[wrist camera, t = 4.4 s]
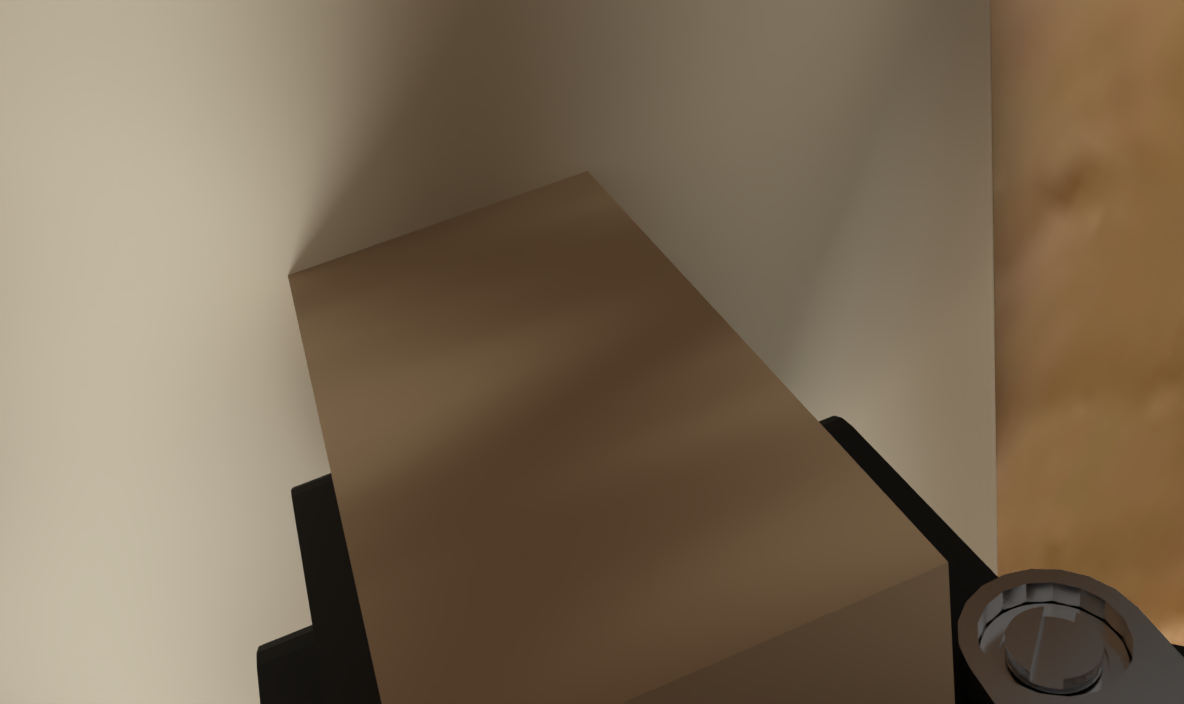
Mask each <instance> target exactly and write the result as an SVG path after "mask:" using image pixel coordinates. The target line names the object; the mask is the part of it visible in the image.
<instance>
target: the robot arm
mask: <svg viewBox="0 0 1184 704" xmlns="http://www.w3.org/2000/svg"><path fill="white" fill-rule="evenodd" d="M819 423H820V424H821V425H822V426H823V427H824V428H825V429H826V430H827V431H828V432H829V433H830V435H831V436H832V437H833V438H834V439H835V440H836V441H837V442H838V443H839V444H840V445H841V446H842V448H843V449H844V450H845V451H846V452H847V453H848V454H849V455H850V456H851V457H852V458H853V459H854V461H855V462H856V463H857V464H858V465H859V466H860V467H861V468H862V469H863V470H864V471H865V472H866V474H867V475H868V476H869V477H870V478H871V479H872V480H873V481H874V482H875V483H876V484H877V485H878V487H879V488H880V489H881V490H882V491H883V492H884V493H885V494H886V495H887V496H888V497H889V498H890V500H891V501H892V502H893V503H894V504H895V505H896V506H897V507H898V508H899V509H900V510H901V511H902V513H903V514H904V515H905V516H906V517H907V518H908V519H909V520H910V521H911V522H912V523H913V524H914V526H915V527H916V528H917V529H918V530H919V531H920V532H921V533H922V534H923V535H924V536H925V537H926V539H927V540H928V541H929V542H930V543H931V544H932V545H933V546H934V547H935V548H936V549H937V550H938V552H939V553H940V554H941V555H942V556H943V557H944V558H945V559H946V560H947V561H948V568H949V589H950V610H951V631H952V652H953V673H954V694H955V704H1184V646H1179V645H1174V644H1171V643H1170V642H1169V641H1168V640H1167V639H1166V638H1165V637H1164V636H1163V634H1162V633H1161V632H1160V631H1159V630H1158V629H1157V628H1156V627H1155V626H1154V625H1153V624H1152V623H1151V621H1150V620H1149V619H1148V618H1147V617H1146V616H1145V615H1144V614H1143V613H1142V612H1141V611H1140V609H1139V608H1138V607H1137V606H1135V605H1134V604H1133V603H1132V602H1131V601H1129V600H1128V599H1127V598H1126V597H1125V596H1123V595H1122V594H1121V593H1120V592H1118V591H1117V590H1116V589H1114V588H1112V587H1110V586H1108V585H1106V584H1104V583H1102V582H1100V581H1098V580H1095V579H1093V578H1091V577H1089V576H1085V575H1081V574H1077V573H1072V572H1068V571H1064V570H1055V569H1029V570H1024V571H1019V572H1014V573H1009V574H1005V575H1002V576H1000V577H998V576H997V575H996V574H995V573H994V572H993V571H992V570H991V569H990V568H989V567H988V566H987V565H986V564H985V563H984V562H983V561H982V560H981V559H980V558H979V557H978V556H977V555H976V554H975V553H974V552H973V551H972V550H971V548H970V547H969V546H968V545H967V544H966V543H965V542H964V541H963V540H962V539H961V538H960V537H959V536H958V535H957V534H956V533H955V532H954V531H953V530H952V529H951V528H950V527H949V526H948V525H947V524H946V523H945V522H944V520H943V519H942V518H941V517H940V516H939V515H938V514H937V513H936V512H935V511H934V510H933V509H932V508H931V507H930V506H929V505H928V504H927V503H926V502H925V501H924V500H923V499H922V498H921V497H920V496H919V495H918V494H917V493H916V491H915V490H914V489H913V488H912V487H911V486H910V485H909V484H908V483H907V482H906V481H905V480H904V479H903V478H902V477H901V476H900V475H899V474H898V473H897V472H896V471H895V470H894V469H893V468H892V467H891V466H890V465H889V463H888V462H887V461H886V460H885V459H884V458H883V457H882V456H881V455H880V454H879V453H878V452H877V451H876V450H875V449H874V448H873V447H872V446H871V445H870V444H869V443H868V442H867V441H866V440H865V439H864V438H863V437H862V435H861V434H860V433H859V432H858V431H857V430H856V429H855V428H854V427H853V426H852V425H851V424H849V423H848V422H847V421H846V420H844V419H843V418H842V417H838V416H835V415H834V416H831V417H829V418H826V419H824V420H821V421H819ZM291 497H292V503H293V509H294V515H295V522H296V528H297V534H298V540H299V546H300V552H301V558H302V565H303V571H304V577H305V583H306V589H307V595H308V601H309V608H310V614H311V620H312V625H310V626H308V627H305V628H303V629H300V630H298V631H295V632H293V633H290V634H288V635H285V636H283V637H280V638H278V639H275V640H273V641H270V642H268V643H265V644H263V645H260V646H259V647H258V650H257V653H256V658H257V675H258V686H259V696H260V704H382V703H381V698H380V694H379V689H378V685H377V680H376V676H375V671H374V667H373V662H372V657H371V653H370V648H369V644H368V639H367V635H366V630H365V626H364V621H363V616H362V612H361V607H360V603H359V598H358V594H357V589H356V584H355V580H354V575H353V571H352V566H351V562H350V557H349V553H348V548H347V543H346V539H345V534H344V530H343V525H342V521H341V516H340V512H339V507H338V502H337V498H336V493H335V489H334V484H333V480H332V475H331V473H329V474H327V475H324V476H322V477H319V478H316V479H314V480H311V481H308V482H306V483H303V484H301V485H298V486H295V487H293V488H292V489H291Z"/></svg>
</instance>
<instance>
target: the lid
mask: <svg viewBox="0 0 1184 704" xmlns="http://www.w3.org/2000/svg"><path fill="white" fill-rule="evenodd" d="M834 415H835V416H838V417H842V418H843V419H844V420H846V421H847V422H848V423H849V424H851V425H852V426H853V427H854V428H855V429H856V430H857V431H858V432H859V433H860V434H861V435H862V437H863V438H864V439H865V440H866V441H867V442H868V443H869V444H870V445H871V446H872V447H873V448H874V449H875V450H876V451H877V452H878V453H879V454H880V455H881V456H882V457H883V458H884V459H885V460H886V461H887V462H888V463H889V465H890V466H891V467H892V468H893V469H894V470H895V471H896V472H897V473H898V474H899V475H900V476H901V477H902V478H903V479H904V480H905V481H906V482H907V483H908V484H909V485H910V486H911V487H912V488H913V489H914V490H915V491H916V493H917V494H918V495H919V496H920V497H921V498H922V499H923V500H924V501H925V502H926V503H927V504H928V505H929V506H930V507H931V508H932V509H933V510H934V511H935V512H936V513H937V514H938V515H939V516H940V517H941V518H942V519H943V520H944V522H945V523H946V524H947V525H948V526H949V527H950V528H951V529H952V530H953V531H954V532H955V533H956V534H957V535H958V536H959V537H960V538H961V539H962V540H963V541H964V542H965V543H966V544H967V545H968V546H969V547H970V548H971V550H972V551H973V552H974V553H975V554H976V555H977V556H978V557H979V558H980V559H981V560H982V561H983V562H984V563H985V564H986V565H987V566H988V567H989V568H990V569H991V570H992V571H993V572H994V573H995V574H996V575H997V576H998V573H997V496H996V419H995V343H994V266H993V189H992V113H991V36H990V0H0V704H260V696H259V686H258V675H257V658H256V653H257V650H258V647H259V646H260V645H263V644H265V643H268V642H270V641H273V640H275V639H278V638H280V637H283V636H285V635H288V634H290V633H293V632H295V631H298V630H300V629H303V628H305V627H308V626H310V625H312V620H311V614H310V608H309V601H308V595H307V589H306V583H305V577H304V571H303V565H302V558H301V552H300V546H299V540H298V534H297V528H296V522H295V515H294V509H293V503H292V497H291V489H292V488H293V487H295V486H298V485H301V484H303V483H306V482H308V481H311V480H314V479H316V478H319V477H322V476H324V475H327V474H329V473H331V475H332V480H333V484H334V489H335V493H336V498H337V502H338V507H339V512H340V516H341V521H342V525H343V530H344V534H345V539H346V543H347V548H348V553H349V557H350V562H351V566H352V571H353V575H354V580H355V584H356V589H357V594H358V598H359V603H360V607H361V612H362V616H363V621H364V626H365V630H366V635H367V639H368V644H369V648H370V653H371V657H372V662H373V667H374V671H375V676H376V680H377V685H378V689H379V694H380V698H381V703H382V704H955V694H954V673H953V652H952V631H951V610H950V589H949V568H948V561H947V560H946V559H945V558H944V557H943V556H942V555H941V554H940V553H939V552H938V550H937V549H936V548H935V547H934V546H933V545H932V544H931V543H930V542H929V541H928V540H927V539H926V537H925V536H924V535H923V534H922V533H921V532H920V531H919V530H918V529H917V528H916V527H915V526H914V524H913V523H912V522H911V521H910V520H909V519H908V518H907V517H906V516H905V515H904V514H903V513H902V511H901V510H900V509H899V508H898V507H897V506H896V505H895V504H894V503H893V502H892V501H891V500H890V498H889V497H888V496H887V495H886V494H885V493H884V492H883V491H882V490H881V489H880V488H879V487H878V485H877V484H876V483H875V482H874V481H873V480H872V479H871V478H870V477H869V476H868V475H867V474H866V472H865V471H864V470H863V469H862V468H861V467H860V466H859V465H858V464H857V463H856V462H855V461H854V459H853V458H852V457H851V456H850V455H849V454H848V453H847V452H846V451H845V450H844V449H843V448H842V446H841V445H840V444H839V443H838V442H837V441H836V440H835V439H834V438H833V437H832V436H831V435H830V433H829V432H828V431H827V430H826V429H825V428H824V427H823V426H822V425H821V424H820V423H819V421H821V420H824V419H826V418H829V417H831V416H834Z"/></svg>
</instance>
